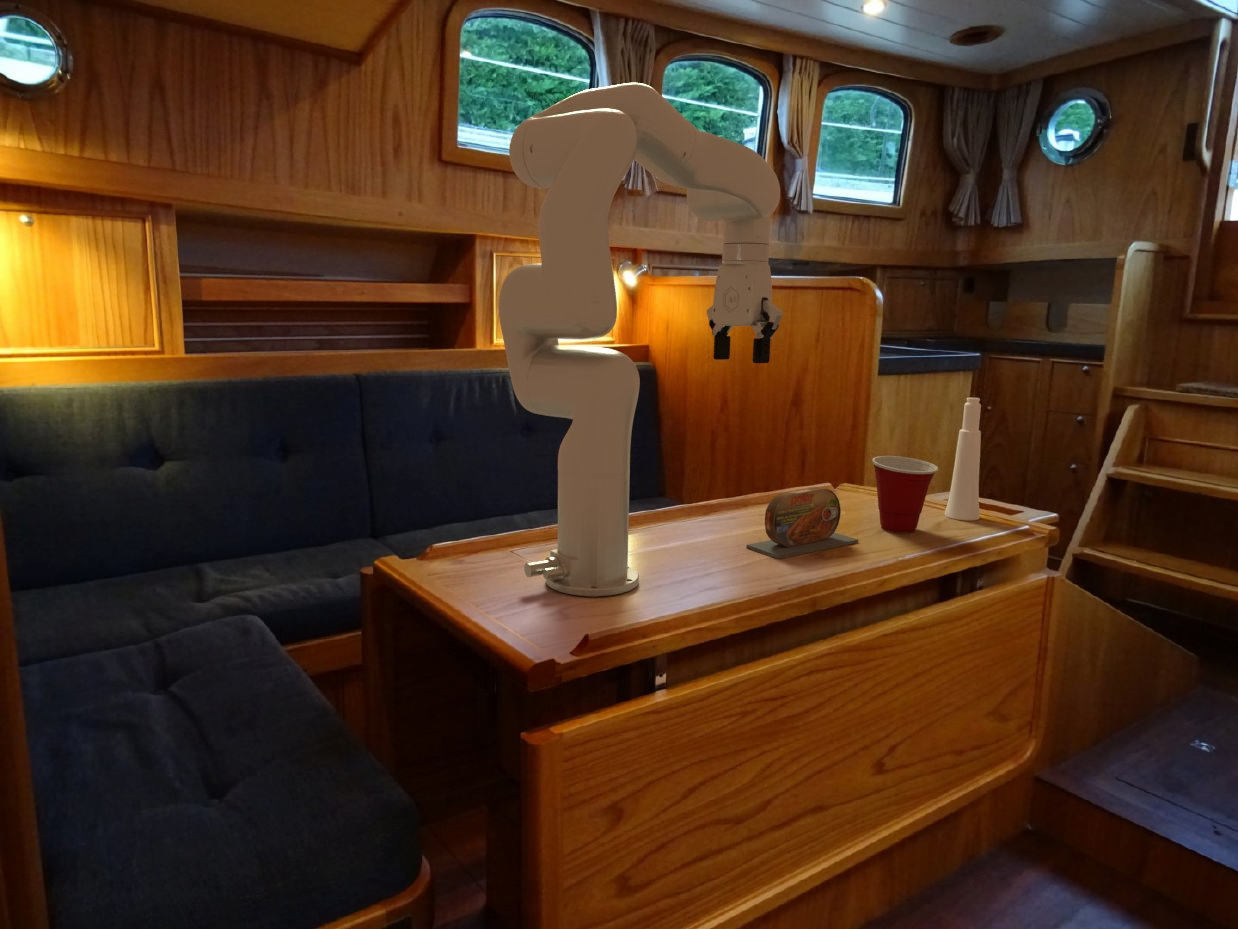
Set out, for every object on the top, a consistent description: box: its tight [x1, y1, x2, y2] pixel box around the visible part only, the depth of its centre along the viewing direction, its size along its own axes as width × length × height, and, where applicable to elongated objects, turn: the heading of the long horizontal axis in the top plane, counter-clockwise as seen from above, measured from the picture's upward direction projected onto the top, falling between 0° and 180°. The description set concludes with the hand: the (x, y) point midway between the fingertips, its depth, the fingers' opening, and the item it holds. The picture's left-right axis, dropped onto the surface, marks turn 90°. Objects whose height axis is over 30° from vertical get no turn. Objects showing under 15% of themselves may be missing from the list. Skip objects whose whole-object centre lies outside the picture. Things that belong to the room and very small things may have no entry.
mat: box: [745, 531, 859, 560], centre depth 136 cm, size 18×7×1 cm, turn 124°
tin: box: [764, 487, 841, 547], centre depth 136 cm, size 15×3×8 cm, turn 124°
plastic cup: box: [871, 455, 939, 534], centre depth 146 cm, size 11×11×12 cm
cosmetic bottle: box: [944, 397, 982, 522], centre depth 155 cm, size 6×6×22 cm
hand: (740, 361), depth 143 cm, fingers open, 9 cm apart
